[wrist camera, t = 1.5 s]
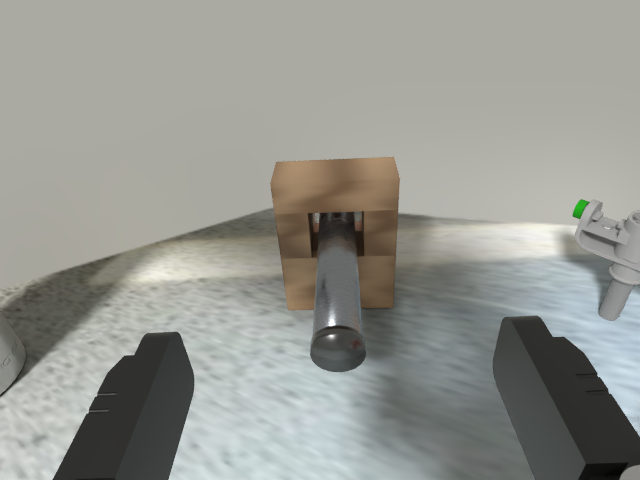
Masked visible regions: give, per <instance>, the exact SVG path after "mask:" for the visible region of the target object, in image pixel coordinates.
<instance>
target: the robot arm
mask: <svg viewBox="0 0 640 480" xmlns="http://www.w3.org/2000/svg"><path fill="white" fill-rule="evenodd" d="M25 359H26V351H25V348H24V346H23V344H22V343H21V341H20V340H19V338H18V337H17V335H16V334H15V332H14V331H13V329H12V328H11V326H10V325H9V323H8V322H7V320H6V319H5V318H4V316H3V314H2V313H1V311H0V394H1V393H3V392H4V391H5V390H6V389H7V388H8V387H9V386H10V385H11V384H12V382H13V381H14V380H15V379H16V378H17V376H18V375H19V373H20V371H21V370H22V368H23V365H24V362H25ZM493 372H494V378H495V381H496V385H497V387H498V390H499V392H500V394H501V397H502V399H503V402H504V404H505V407H506V409H507V412H508V414H509V416H510V419H511V421H512V424H513V426H514V429H515V431H516V434H517V436H518V438H519V441H520V443H521V446H522V448H523V451H524V453H525V456H526V458H527V460H528V463H529V465H530V468H531V470H532V473H533V475H534V478H535V480H640V437H639V435H638V434H637V432H636V431H635V429H634V428H633V426H632V425H631V423H630V422H629V420H628V419H627V417H626V416H625V414H624V413H623V411H622V410H621V408H620V407H619V405H618V404H617V402H616V401H615V399H614V398H613V396H612V395H611V394H609V392H608V388H607V387H606V385H605V384H604V382H603V381H602V379H601V378H600V377H598V376H597V372H596V370H595V369H594V367H593V366H592V364H591V363H590V361H589V360H588V358H587V357H586V355H585V354H584V353H583V352H582V351H581V350H579V349H578V348H577V347H576V346H575V345H573V344H572V343H571V342H570V341H568V340H567V339H566V338H565V337H552V335H551V333H550V332H549V330H548V329H547V327H546V325H545V324H544V322H543V321H542V319H541V318H540V317H538V316H520V317H505V318H504V319H503V320H502V323H501V327H500V331H499V336H498V340H497V345H496V349H495V353H494V358H493ZM193 392H194V373H193V369H192V367H191V364H190V361H189V358H188V355H187V352H186V349H185V347H184V344H183V341H182V338H181V336H180V334H179V333H178V332H163V333H147V334H145V335H144V337H143V338H142V340H141V342H140V344H139V346H138V349H137V351H136V353H135V355H130V356H124V357H123V358H122V359H121V360H120V361H119V362H118V363H117V364H116V365H115V366H114V367H113V368H112V369H111V370H110V371H109V372H108V373H107V375H106V377H105V379H104V381H103V383H102V385H101V387H100V389H99V391H98V393H97V394H98V395H97V397H95V398H94V400H93V402H92V404H91V406H90V408H89V413H88V414H86V416H85V418H84V420H83V422H82V424H81V426H80V428H79V430H78V432H77V434H76V435H75V437H74V439H73V441H72V443H71V445H70V447H69V449H68V451H67V453H66V455H65V457H64V459H63V461H62V463H61V465H60V467H59V469H58V471H57V472H56V474H55V476H54V478H53V480H168V479H169V475H170V472H171V468H172V465H173V462H174V458H175V455H176V451H177V448H178V445H179V441H180V438H181V434H182V431H183V428H184V424H185V421H186V417H187V414H188V410H189V407H190V404H191V400H192V397H193Z"/></svg>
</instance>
